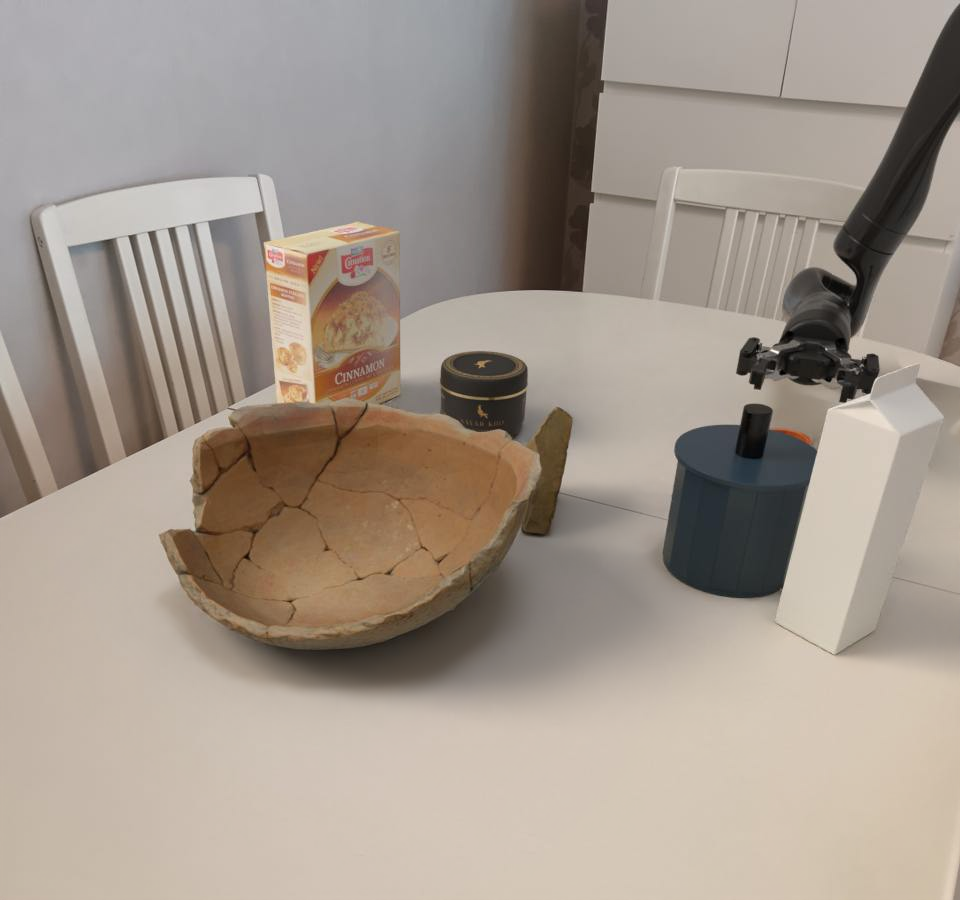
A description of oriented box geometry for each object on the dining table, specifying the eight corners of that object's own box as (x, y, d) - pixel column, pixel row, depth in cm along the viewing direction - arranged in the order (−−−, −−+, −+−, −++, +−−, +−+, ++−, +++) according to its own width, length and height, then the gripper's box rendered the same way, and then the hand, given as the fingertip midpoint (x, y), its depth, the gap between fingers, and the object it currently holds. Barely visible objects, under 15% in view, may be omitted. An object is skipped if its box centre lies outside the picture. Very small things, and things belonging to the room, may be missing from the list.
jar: (439, 444, 109) (439, 378, 104) (439, 411, 117) (440, 348, 113) (527, 446, 109) (532, 380, 105) (521, 412, 117) (525, 350, 113)
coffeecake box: (318, 430, 111) (307, 252, 100) (275, 414, 114) (259, 240, 103) (404, 395, 121) (402, 229, 110) (361, 381, 124) (356, 219, 113)
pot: (731, 523, 96) (752, 423, 90) (817, 579, 87) (847, 472, 81) (637, 549, 91) (652, 444, 85) (719, 610, 83) (742, 499, 77)
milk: (773, 623, 81) (835, 366, 69) (815, 599, 85) (882, 350, 72) (836, 656, 78) (913, 391, 65) (877, 630, 81) (959, 373, 68)
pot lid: (751, 426, 91) (762, 373, 88) (853, 480, 82) (870, 423, 79) (643, 450, 85) (651, 394, 82) (740, 510, 76) (753, 450, 73)
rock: (573, 527, 89) (610, 473, 96) (522, 450, 86) (564, 400, 93) (489, 560, 96) (530, 508, 103) (440, 490, 94) (485, 441, 100)
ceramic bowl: (106, 649, 72) (89, 451, 65) (236, 535, 96) (233, 383, 90) (506, 705, 69) (529, 505, 63) (535, 574, 94) (553, 420, 88)
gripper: (758, 300, 110) (737, 340, 98) (889, 316, 107) (885, 360, 94) (745, 364, 115) (724, 411, 102) (871, 382, 111) (865, 433, 98)
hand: (801, 386), depth 98 cm, fingers open, 8 cm apart
